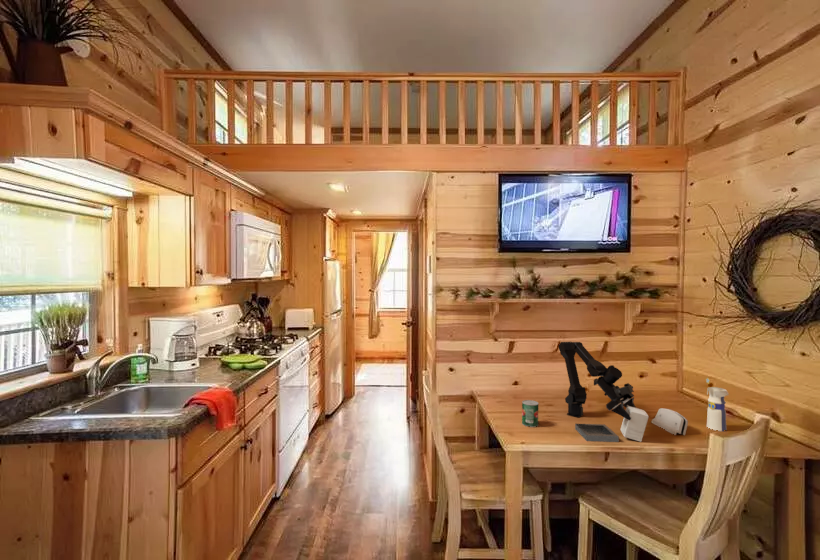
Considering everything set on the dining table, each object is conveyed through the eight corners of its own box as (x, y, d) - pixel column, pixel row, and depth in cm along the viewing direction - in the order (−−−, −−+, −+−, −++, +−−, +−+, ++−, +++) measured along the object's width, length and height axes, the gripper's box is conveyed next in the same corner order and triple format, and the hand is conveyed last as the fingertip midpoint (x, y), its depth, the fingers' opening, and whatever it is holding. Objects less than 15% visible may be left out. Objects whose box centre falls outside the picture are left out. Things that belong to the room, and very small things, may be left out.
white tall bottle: (719, 432, 184) (720, 380, 184) (701, 426, 192) (702, 376, 192) (732, 430, 186) (732, 379, 186) (713, 424, 194) (714, 374, 194)
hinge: (650, 422, 197) (657, 403, 197) (658, 425, 197) (665, 406, 197) (675, 435, 180) (682, 415, 180) (684, 438, 180) (691, 418, 181)
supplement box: (636, 434, 179) (644, 409, 178) (641, 442, 172) (649, 416, 171) (619, 429, 181) (627, 404, 180) (623, 436, 174) (631, 411, 173)
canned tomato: (519, 421, 197) (519, 400, 197) (534, 421, 197) (534, 399, 197) (525, 427, 189) (525, 405, 189) (541, 427, 189) (541, 404, 189)
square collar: (575, 428, 187) (575, 423, 187) (604, 429, 186) (604, 424, 186) (586, 440, 173) (586, 435, 173) (618, 442, 172) (618, 436, 172)
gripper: (612, 381, 174) (640, 412, 165) (629, 375, 186) (655, 403, 177) (595, 395, 180) (620, 425, 171) (612, 388, 192) (637, 416, 183)
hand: (634, 417), depth 176 cm, fingers closed on supplement box, 9 cm apart
